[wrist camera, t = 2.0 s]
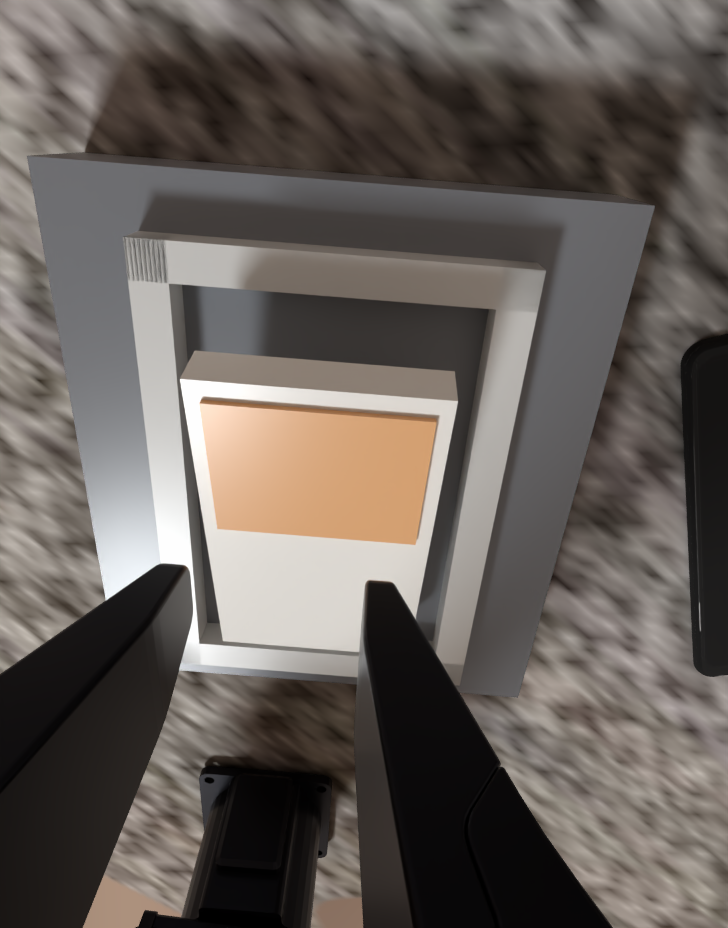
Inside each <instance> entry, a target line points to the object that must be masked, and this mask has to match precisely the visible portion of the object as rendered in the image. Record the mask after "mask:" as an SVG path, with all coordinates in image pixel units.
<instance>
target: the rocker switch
mask: <svg viewBox="0 0 728 928" xmlns="http://www.w3.org/2000/svg"><path fill="white" fill-rule="evenodd" d="M180 383H181V389H182V395H183V402H184V408H185V414H186V420H187V426H188V432H189V438H190V444H191V450H192V456H193V462H194V468H195V474H196V480H197V486H198V493H199V499H200V505H201V511H202V517H203V523H204V529H205V535H206V541H207V547H208V553H209V559H210V565H211V571H212V577H213V583H214V590H215V596H216V602H217V608H218V614H219V620H220V626H221V632H222V638H223V641H227V642H239V643H252V644H264V645H276V646H289V647H301V648H314V649H326V650H338V651H351V652H359V648H360V634H361V621H362V610H363V599H364V589H365V583H366V582H367V581H368V580H378V581H390V582H392V583H394V584H395V586H396V587H397V589H398V590H399V592H400V594H401V595H402V597H403V599H404V601H405V602H406V604H407V606H408V607H409V609H410V611H411V612H412V614H413V616H414V617H415V619H416V614H417V609H418V604H419V598H420V593H421V588H422V583H423V578H424V573H425V568H426V563H427V558H428V552H429V547H430V542H431V537H432V532H433V527H434V522H435V517H436V512H437V506H438V501H439V496H440V491H441V486H442V481H443V476H444V471H445V466H446V461H447V455H448V450H449V445H450V440H451V435H452V430H453V425H454V420H455V415H456V409H457V404H458V396H457V387H456V378H455V371H444V370H431V369H419V368H406V367H394V366H381V365H369V364H356V363H344V362H331V361H319V360H306V359H294V358H281V357H269V356H256V355H244V354H231V353H219V352H206V351H194V353H193V355H192V357H191V358H190V360H189V362H188V364H187V366H186V368H185V370H184V372H183V374H182V376H181V378H180Z"/></svg>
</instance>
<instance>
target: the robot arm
mask: <svg viewBox="0 0 728 928" xmlns="http://www.w3.org/2000/svg"><path fill="white" fill-rule="evenodd" d="M192 618H193V599H192V588H191V576H190V571H189V568H188V567H187V566H185V565H181V564H169V563H161V564H158V565H156V566H155V567H153V568H152V569H150V570H149V571H147V572H146V573H145V574H143V575H142V576H140V577H139V578H137V579H136V580H134V581H133V582H132V583H130V584H129V585H127V586H126V587H124V588H123V589H122V590H120V591H119V592H117V593H116V594H114V595H113V596H112V597H110V598H109V599H107V600H106V601H104V602H103V603H102V604H100V605H99V606H97V607H96V608H94V609H93V610H91V611H90V612H89V613H87V614H86V615H84V616H83V617H81V618H80V619H79V620H77V621H76V622H74V623H73V624H71V625H70V626H69V627H67V628H66V629H64V630H63V631H61V632H60V633H59V634H57V635H56V636H54V637H53V638H51V639H50V640H48V641H47V642H46V643H44V644H43V645H41V646H40V647H38V648H37V649H36V650H34V651H33V652H31V653H30V654H28V655H27V656H26V657H24V658H23V659H21V660H20V661H18V662H17V663H16V664H14V665H13V666H11V667H10V668H8V669H7V670H5V671H4V672H3V673H1V674H0V928H83V925H84V923H85V920H86V918H87V915H88V913H89V910H90V908H91V905H92V903H93V900H94V898H95V895H96V893H97V890H98V888H99V885H100V883H101V880H102V878H103V875H104V873H105V870H106V868H107V865H108V863H109V860H110V858H111V855H112V853H113V850H114V848H115V845H116V843H117V840H118V838H119V835H120V833H121V830H122V828H123V825H124V823H125V820H126V818H127V815H128V813H129V810H130V808H131V805H132V803H133V800H134V798H135V795H136V793H137V790H138V788H139V785H140V783H141V780H142V778H143V775H144V773H145V770H146V768H147V765H148V763H149V760H150V758H151V755H152V753H153V750H154V748H155V745H156V743H157V740H158V738H159V735H160V732H161V730H162V727H163V724H164V721H165V718H166V715H167V711H168V708H169V705H170V701H171V697H172V694H173V690H174V686H175V683H176V679H177V675H178V672H179V668H180V664H181V661H182V657H183V653H184V650H185V646H186V642H187V639H188V635H189V631H190V628H191V624H192ZM354 756H355V775H356V794H357V813H358V832H359V851H360V871H361V890H362V909H363V928H613V927H612V926H611V924H610V923H609V922H608V920H607V919H606V918H605V916H604V915H603V914H602V912H601V911H600V910H599V908H598V907H597V906H596V904H595V903H594V902H593V900H592V899H591V897H590V896H589V895H588V893H587V892H586V891H585V889H584V888H583V887H582V885H581V884H580V883H579V881H578V880H577V879H576V877H575V876H574V874H573V873H572V872H571V870H570V869H569V867H568V866H567V864H566V863H565V862H564V860H563V859H562V857H561V856H560V855H559V853H558V852H557V850H556V849H555V848H554V846H553V845H552V843H551V842H550V841H549V839H548V838H547V836H546V835H545V833H544V832H543V830H542V829H541V827H540V825H539V824H538V822H537V821H536V819H535V818H534V816H533V814H532V813H531V811H530V810H529V808H528V807H527V805H526V803H525V802H524V800H523V799H522V797H521V796H520V794H519V792H518V790H517V789H516V787H515V785H514V784H513V782H512V780H511V779H510V777H509V775H508V773H507V772H506V770H505V769H504V768H503V767H500V765H501V763H500V761H499V759H498V757H497V755H496V754H495V752H494V750H493V749H492V747H491V745H490V744H489V742H488V740H487V739H486V737H485V735H484V734H483V732H482V730H481V729H480V727H479V725H478V723H477V722H476V720H475V718H474V717H473V715H472V713H471V712H470V710H469V708H468V707H467V705H466V703H465V702H464V700H463V698H462V697H461V695H460V693H459V691H458V690H457V688H456V686H455V685H454V683H453V681H452V680H451V678H450V676H449V675H448V673H447V671H446V670H445V668H444V666H443V665H442V663H441V661H440V659H439V658H438V656H437V654H436V653H435V651H434V649H433V648H432V646H431V644H430V643H429V641H428V639H427V638H426V636H425V634H424V633H423V631H422V629H421V627H420V626H419V624H418V622H417V621H416V619H415V617H414V616H413V614H412V612H411V611H410V609H409V607H408V606H407V604H406V602H405V601H404V599H403V597H402V595H401V594H400V592H399V590H398V589H397V587H396V586H395V584H394V583H392V582H390V581H378V580H368V581H367V582H366V583H365V589H364V599H363V610H362V621H361V634H360V648H359V662H358V676H357V690H356V705H355V720H354ZM199 783H200V793H201V803H202V813H203V823H204V834H203V838H202V842H201V846H200V849H199V853H198V857H197V861H196V864H195V868H194V872H193V875H192V879H191V883H190V887H189V890H188V894H187V898H186V901H185V905H184V909H183V913H182V916H181V917H173V916H166V915H159V914H158V912H156V911H148V910H145V911H144V913H143V916H142V919H141V921H140V924H139V926H138V927H136V928H311V918H312V909H313V899H314V889H315V879H316V869H317V860H318V858H322V857H325V856H326V855H327V847H328V834H329V819H330V805H331V791H332V780H331V779H330V778H329V777H327V776H323V775H310V774H298V773H286V772H274V771H261V770H249V769H237V768H224V767H212V766H209V767H205V768H203V769H202V771H201V775H200V778H199Z"/></svg>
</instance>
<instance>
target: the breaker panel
mask: <svg viewBox="0 0 728 928" xmlns="http://www.w3.org/2000/svg"><path fill="white" fill-rule="evenodd" d="M27 159H28V164H29V170H30V176H31V181H32V187H33V193H34V198H35V204H36V209H37V215H38V221H39V226H40V232H41V238H42V243H43V249H44V254H45V260H46V266H47V271H48V277H49V282H50V288H51V294H52V299H53V305H54V311H55V316H56V322H57V327H58V333H59V339H60V344H61V350H62V356H63V361H64V367H65V372H66V378H67V384H68V389H69V395H70V401H71V406H72V412H73V417H74V423H75V429H76V434H77V440H78V445H79V451H80V457H81V462H82V468H83V474H84V479H85V485H86V490H87V496H88V502H89V507H90V513H91V519H92V524H93V530H94V535H95V541H96V547H97V552H98V558H99V564H100V569H101V575H102V580H103V586H104V592H105V597H106V600H107V599H109V598H110V597H112V596H113V595H114V594H116V593H117V592H119V591H120V590H122V589H123V588H124V587H126V586H127V585H129V584H130V583H132V582H133V581H134V580H136V579H137V578H139V577H140V576H142V575H143V574H145V573H146V572H147V571H149V570H150V569H152V568H153V567H155V566H156V565H158V564H161V563H169V564H181V565H185V566H187V567H188V568H189V571H190V576H191V588H192V599H193V618H192V624H191V628H190V631H189V635H188V639H187V642H186V646H185V650H184V653H183V657H182V661H181V664H180V668H179V670H184V671H196V672H208V673H221V674H233V675H245V676H258V677H270V678H282V679H295V680H307V681H319V682H332V683H344V684H356V685H357V676H358V662H359V652H351V651H338V650H326V649H314V648H301V647H289V646H276V645H264V644H252V643H239V642H227V641H223V638H222V632H221V626H220V620H219V614H218V608H217V602H216V596H215V590H214V583H213V577H212V571H211V565H210V559H209V553H208V547H207V541H206V535H205V529H204V523H203V517H202V511H201V505H200V499H199V493H198V486H197V480H196V474H195V468H194V462H193V456H192V450H191V444H190V438H189V432H188V426H187V420H186V414H185V408H184V402H183V395H182V389H181V383H180V378H181V376H182V374H183V372H184V370H185V368H186V366H187V364H188V362H189V360H190V358H191V357H192V355H193V353H194V351H206V352H219V353H231V354H244V355H256V356H269V357H281V358H294V359H306V360H319V361H331V362H344V363H356V364H369V365H381V366H394V367H406V368H419V369H431V370H444V371H455V378H456V387H457V396H458V404H457V409H456V415H455V420H454V425H453V430H452V435H451V440H450V445H449V450H448V455H447V461H446V466H445V471H444V476H443V481H442V486H441V491H440V496H439V501H438V506H437V512H436V517H435V522H434V527H433V532H432V537H431V542H430V547H429V552H428V558H427V563H426V568H425V573H424V578H423V583H422V588H421V593H420V598H419V604H418V609H417V614H416V621H417V622H418V624H419V626H420V627H421V629H422V631H423V633H424V634H425V636H426V638H427V639H428V641H429V643H430V644H431V646H432V648H433V649H434V651H435V653H436V654H437V656H438V658H439V659H440V661H441V663H442V665H443V666H444V668H445V670H446V671H447V673H448V675H449V676H450V678H451V680H452V681H453V683H454V685H455V686H456V688H457V690H458V691H459V693H468V694H480V695H492V696H505V697H517V698H518V696H519V692H520V689H521V685H522V681H523V678H524V674H525V671H526V667H527V663H528V660H529V656H530V653H531V649H532V646H533V642H534V638H535V635H536V631H537V628H538V624H539V620H540V617H541V613H542V610H543V606H544V602H545V599H546V595H547V592H548V588H549V585H550V581H551V577H552V574H553V570H554V567H555V563H556V559H557V556H558V552H559V549H560V545H561V542H562V538H563V534H564V531H565V527H566V524H567V520H568V516H569V513H570V509H571V506H572V502H573V499H574V495H575V491H576V488H577V484H578V481H579V477H580V473H581V470H582V466H583V463H584V459H585V456H586V452H587V448H588V445H589V441H590V438H591V434H592V430H593V427H594V423H595V420H596V416H597V413H598V409H599V405H600V402H601V398H602V395H603V391H604V387H605V384H606V380H607V377H608V373H609V369H610V366H611V362H612V359H613V355H614V352H615V348H616V344H617V341H618V337H619V334H620V330H621V326H622V323H623V319H624V316H625V312H626V309H627V305H628V301H629V298H630V294H631V291H632V287H633V283H634V280H635V276H636V273H637V269H638V266H639V262H640V258H641V255H642V251H643V248H644V244H645V240H646V237H647V233H648V230H649V226H650V223H651V219H652V215H653V212H654V208H655V206H654V205H651V204H647V203H643V202H640V201H636V200H632V199H629V198H625V197H621V196H618V195H614V194H601V193H588V192H576V191H563V190H551V189H538V188H525V187H513V186H500V185H488V184H475V183H462V182H450V181H437V180H425V179H412V178H399V177H387V176H374V175H362V174H349V173H336V172H324V171H311V170H299V169H286V168H274V167H261V166H248V165H236V164H223V163H211V162H198V161H185V160H173V159H160V158H148V157H135V156H122V155H110V154H97V153H85V152H82V153H65V154H49V155H33V156H27Z"/></svg>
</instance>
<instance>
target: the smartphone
mask: <svg viewBox="0 0 728 928" xmlns="http://www.w3.org/2000/svg"><path fill="white" fill-rule="evenodd" d="M697 348H698V349H697ZM681 388H682V414H683V437H684V460H685V483H686V506H687V529H688V552H689V575H690V598H691V620H692V642H693V661H694V666H695V668H696V669H697V670H698V671H699V672H700V673H701V674H703V675H706V676H710V677H715V676H723V675H728V334H725V335H721V336H717V337H713V338H709V339H705V340H702V341H699V342H697V343H695V344H694V345H692V346H691V347H690V348H689V349H688V350H687V351H686V352H685V354H684V356H683V358H682V360H681Z"/></svg>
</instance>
